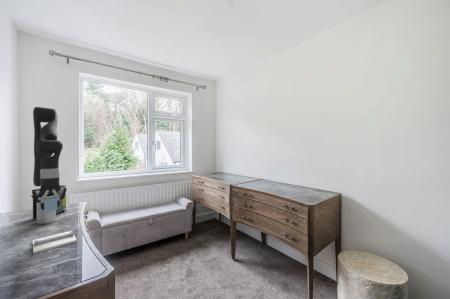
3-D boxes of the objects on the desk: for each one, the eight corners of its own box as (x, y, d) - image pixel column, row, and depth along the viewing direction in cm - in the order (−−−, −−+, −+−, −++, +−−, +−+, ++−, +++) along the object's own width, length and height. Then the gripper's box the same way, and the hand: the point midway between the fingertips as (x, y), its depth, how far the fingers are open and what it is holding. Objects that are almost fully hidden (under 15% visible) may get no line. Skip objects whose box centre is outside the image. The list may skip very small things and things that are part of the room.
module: (43, 209, 104) (43, 197, 104) (55, 207, 107) (55, 195, 108) (44, 212, 99) (44, 199, 99) (57, 210, 102) (57, 197, 103)
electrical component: (42, 219, 132) (42, 190, 132) (30, 218, 134) (30, 189, 134) (67, 211, 149) (67, 185, 149) (57, 210, 151) (57, 185, 151)
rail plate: (32, 242, 99) (32, 237, 99) (71, 232, 111) (71, 228, 111) (33, 253, 88) (33, 248, 88) (76, 241, 100) (76, 236, 100)
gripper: (66, 175, 111) (66, 204, 111) (31, 177, 101) (31, 210, 101) (68, 176, 106) (68, 206, 106) (31, 179, 96) (31, 213, 95)
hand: (50, 208), depth 103 cm, fingers closed on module, 5 cm apart
